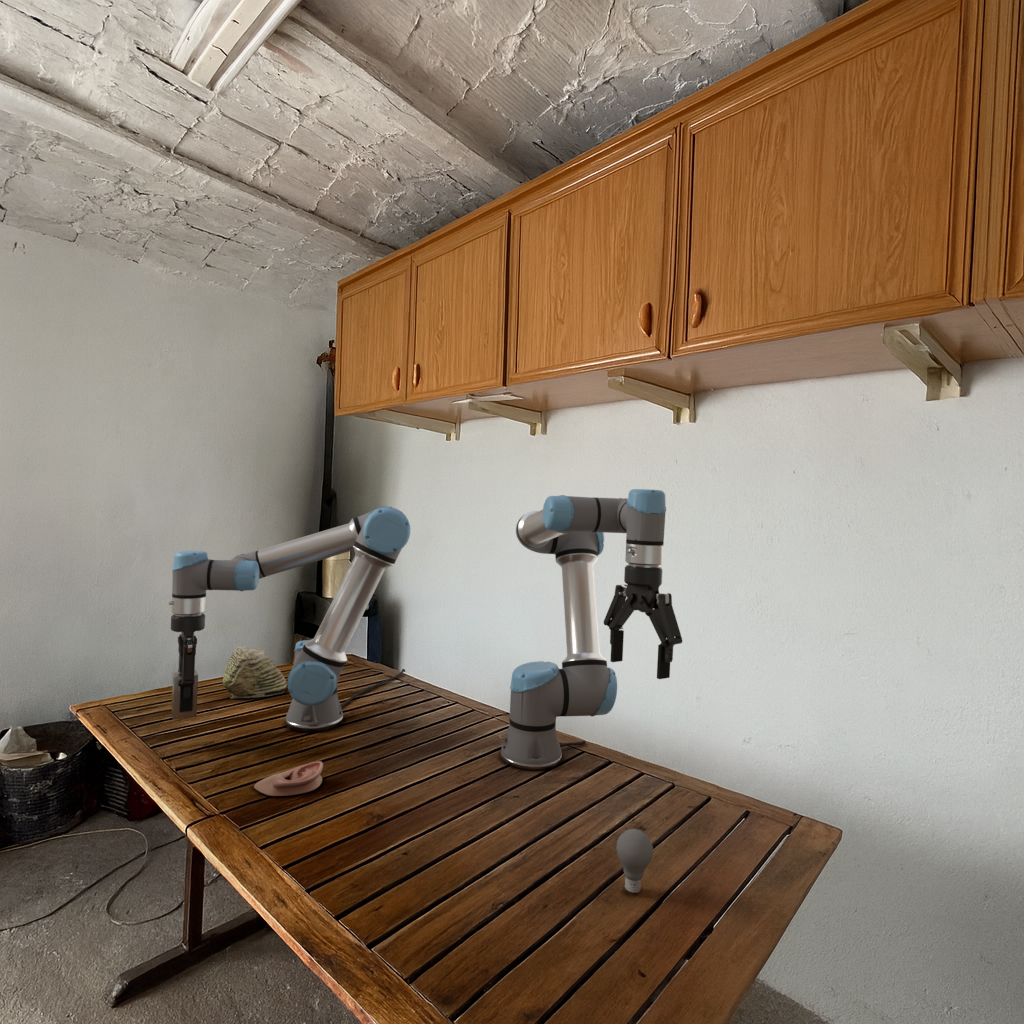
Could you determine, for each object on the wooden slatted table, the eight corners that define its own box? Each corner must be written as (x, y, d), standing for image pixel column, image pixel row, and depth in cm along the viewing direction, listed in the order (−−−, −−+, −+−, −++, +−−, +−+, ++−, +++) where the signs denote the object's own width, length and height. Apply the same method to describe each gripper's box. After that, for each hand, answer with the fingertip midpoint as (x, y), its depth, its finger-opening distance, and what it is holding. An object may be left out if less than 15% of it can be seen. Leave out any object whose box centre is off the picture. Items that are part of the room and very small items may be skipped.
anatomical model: (246, 773, 134) (276, 753, 145) (245, 792, 134) (276, 770, 145) (303, 782, 131) (330, 760, 142) (302, 801, 131) (329, 777, 142)
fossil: (218, 695, 195) (220, 647, 195) (278, 685, 208) (279, 640, 207) (228, 703, 189) (230, 653, 188) (289, 692, 201) (290, 645, 201)
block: (171, 713, 157) (172, 672, 157) (194, 710, 160) (196, 670, 159) (172, 719, 153) (174, 677, 153) (196, 716, 156) (198, 674, 155)
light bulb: (610, 879, 108) (613, 822, 108) (644, 879, 109) (647, 822, 109) (619, 902, 102) (622, 840, 102) (655, 901, 103) (658, 840, 103)
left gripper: (168, 608, 161) (165, 699, 162) (173, 621, 146) (170, 721, 147) (201, 607, 165) (197, 695, 166) (209, 619, 150) (205, 716, 151)
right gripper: (590, 559, 137) (585, 656, 137) (676, 573, 116) (670, 688, 116) (616, 558, 141) (612, 653, 141) (704, 572, 120) (699, 683, 120)
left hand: (184, 707), depth 156 cm, fingers closed on block, 5 cm apart
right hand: (638, 669), depth 129 cm, fingers open, 13 cm apart
